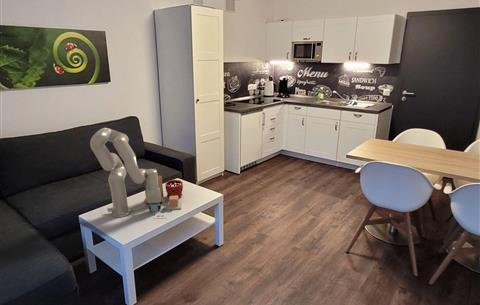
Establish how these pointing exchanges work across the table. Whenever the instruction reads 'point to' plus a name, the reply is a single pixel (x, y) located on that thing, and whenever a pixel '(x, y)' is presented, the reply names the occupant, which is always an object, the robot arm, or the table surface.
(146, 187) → the wooden block
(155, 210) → the brick teal
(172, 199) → the brick terracotta
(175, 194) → the plant pot
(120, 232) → the table surface
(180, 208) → the build plate
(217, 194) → the table surface
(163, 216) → the page
